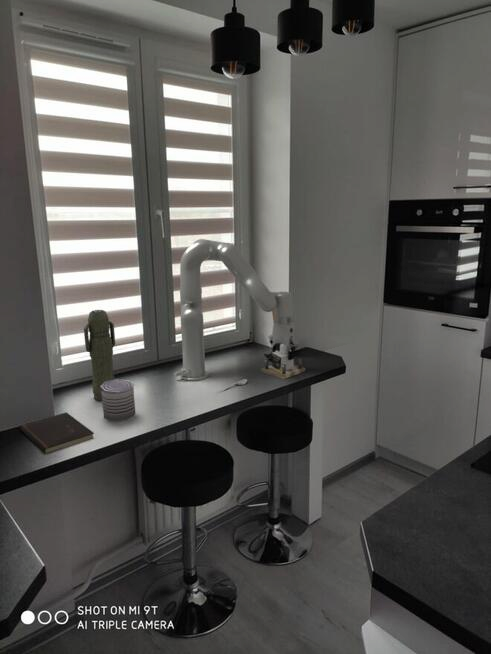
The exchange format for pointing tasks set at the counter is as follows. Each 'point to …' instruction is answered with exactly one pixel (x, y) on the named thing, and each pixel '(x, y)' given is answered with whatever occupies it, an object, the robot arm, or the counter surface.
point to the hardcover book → (56, 432)
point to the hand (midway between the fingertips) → (283, 357)
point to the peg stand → (283, 370)
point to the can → (118, 400)
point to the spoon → (233, 384)
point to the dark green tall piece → (100, 349)
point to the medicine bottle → (281, 358)
